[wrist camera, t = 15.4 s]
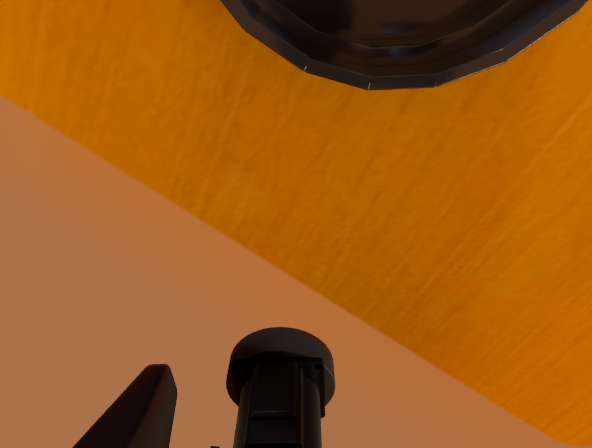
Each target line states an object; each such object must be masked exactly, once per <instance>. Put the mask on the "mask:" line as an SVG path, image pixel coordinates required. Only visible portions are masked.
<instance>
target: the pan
mask: <svg viewBox="0 0 592 448" xmlns="http://www.w3.org/2000/svg"><path fill="white" fill-rule="evenodd" d="M587 1H588V0H221V2H222V3H223V4H224V5H225V7H226V8H227V9H228V11H229V12H230V13H231V14H232V16H233V17H234V18H235V19H236V21H237V22H238V23H239V24H240V26H241V27H242V28H243V29H244V30H245V31H246V32H247V33H248V34H250V35H251V36H253V37H254V38H256V39H257V40H259V41H260V42H261V43H263V44H264V45H266V46H267V47H269V48H270V49H272V50H273V51H274V52H276V53H277V54H279V55H280V56H282V57H283V58H285V59H286V60H287V61H289V62H290V63H292V64H293V65H295V66H296V67H297V68H299V69H300V70H302V71H305V72H306V73H309V74H313V75H316V76H320V77H323V78H327V79H330V80H334V81H337V82H340V83H344V84H347V85H351V86H354V87H358V88H361V89H365V90H368V89H369V90H392V89H414V88H435V87H439V86H442V85H444V84H447V83H450V82H453V81H456V80H458V79H461V78H464V77H467V76H470V75H472V74H475V73H478V72H481V71H484V70H486V69H489V68H492V67H495V66H498V65H500V64H503V63H505V62H507V61H509V60H510V59H512V58H513V57H514V56H516V55H517V54H519V53H520V52H522V51H523V50H525V49H526V48H527V47H529V46H530V45H532V44H533V43H535V42H536V41H538V40H539V39H540V38H542V37H543V36H545V35H546V34H548V33H549V32H551V31H552V30H553V29H555V28H556V27H558V26H559V25H561V24H562V23H564V22H565V21H566V20H568V19H569V18H571V17H572V16H574V15H575V13H577V12H578V11H579V10H580V9H581V8H582V7H583V6H584V5H585V3H586V2H587Z"/></svg>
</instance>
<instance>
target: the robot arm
mask: <svg viewBox="0 0 592 448" xmlns="http://www.w3.org/2000/svg"><path fill="white" fill-rule="evenodd" d="M231 370H232V375H233V380H234V385H235V390H236V396H237V401H238V406H239V410H238V416H237V424H236V430H235V437H234V444H233V448H322V443H321V420H320V419H321V418H324V417H325V368H324V360H323V359H322V358H320V357H302V358H258V359H235V360H234V361H233V362H232V367H231ZM176 400H177V388H176V385H175V382H174V378H173V375H172V372H171V369H170V367H169V366H168V365H167V364H152V365H149V366H147V367H146V368H145V369H144V370H143V371H142V372H141V373H140V374H139V375H138V376H137V378H136V379H135V380H134V381H133V382H132V383H131V384H130V385H129V386H128V387H127V388H126V390H125V391H124V392H123V393H122V394H121V395H120V396H119V397H118V398H117V399H116V401H115V402H114V403H113V404H112V405H111V406H110V407H109V408H108V409H107V410H106V411H105V413H104V414H103V415H102V416H101V417H100V418H99V419H98V420H97V421H96V422H95V424H94V425H93V426H92V427H91V428H90V429H89V430H88V431H87V432H86V433H85V435H84V436H83V437H82V438H81V439H80V440H79V441H78V442H77V443H76V444H75V445H74V447H73V448H169V442H170V436H171V431H172V424H173V418H174V412H175V406H176ZM210 448H219V447H216V446H211V447H210Z"/></svg>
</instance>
